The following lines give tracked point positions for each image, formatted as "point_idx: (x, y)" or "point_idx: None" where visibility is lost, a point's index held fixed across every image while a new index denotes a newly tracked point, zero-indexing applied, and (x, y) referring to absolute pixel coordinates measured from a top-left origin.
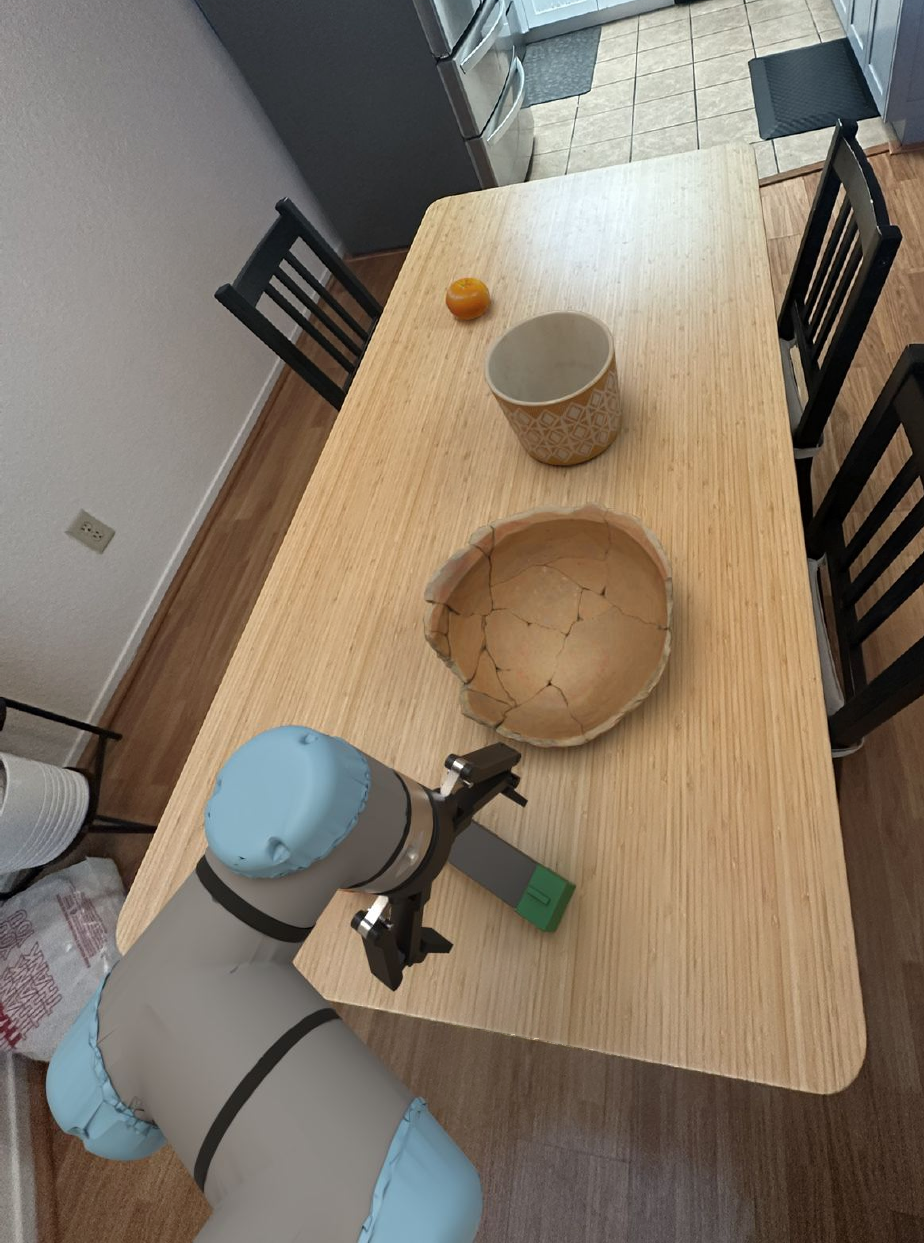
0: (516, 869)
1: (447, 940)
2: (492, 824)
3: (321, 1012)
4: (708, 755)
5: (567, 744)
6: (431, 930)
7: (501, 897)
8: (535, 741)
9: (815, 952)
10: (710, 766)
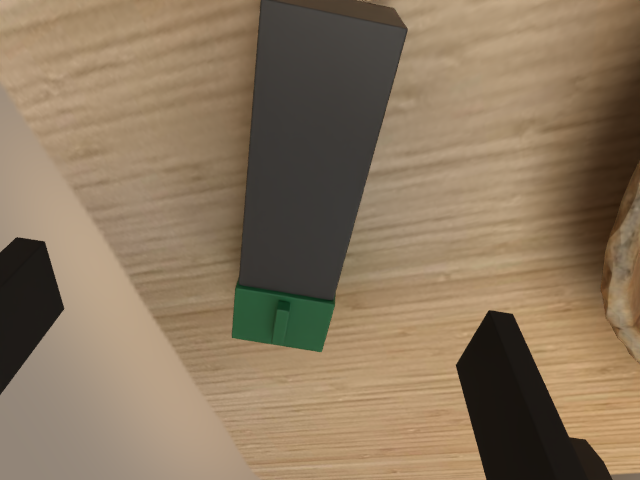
0: (308, 265)
1: (54, 301)
2: None
3: None
4: None
5: (611, 302)
6: (24, 283)
7: (244, 253)
8: (631, 227)
9: (348, 476)
10: None
